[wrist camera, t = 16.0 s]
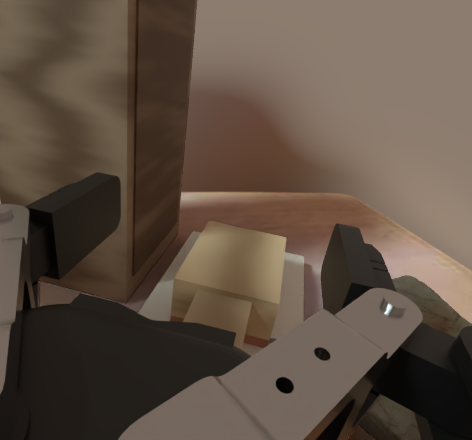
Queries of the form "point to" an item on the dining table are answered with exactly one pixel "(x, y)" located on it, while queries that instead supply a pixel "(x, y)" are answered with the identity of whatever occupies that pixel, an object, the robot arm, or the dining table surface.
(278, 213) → the dining table surface
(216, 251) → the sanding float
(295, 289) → the grey board
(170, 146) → the zigzag patterned tall block
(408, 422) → the marble piece
